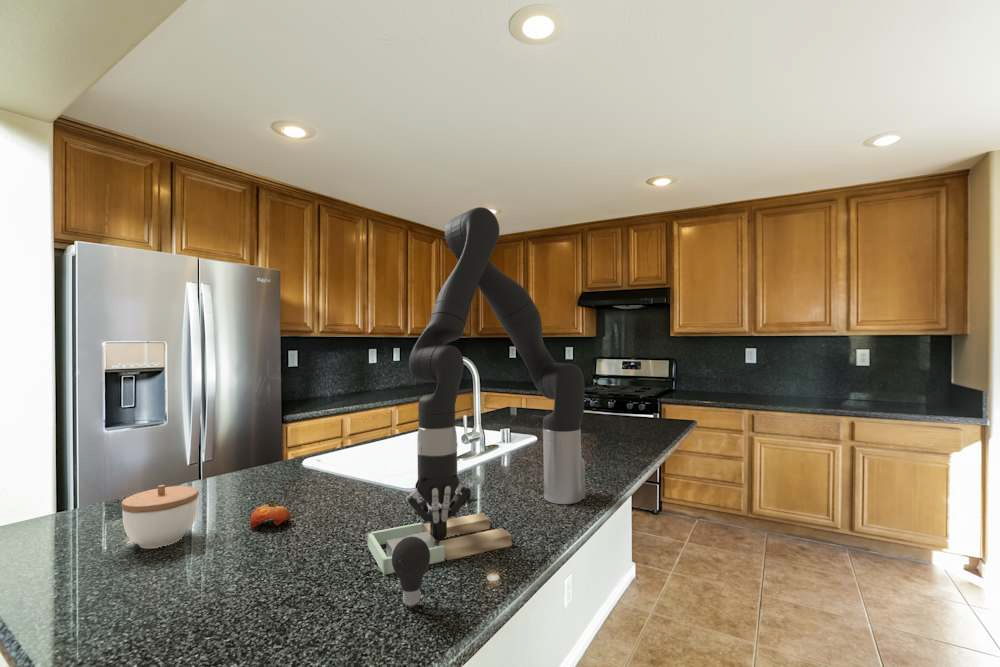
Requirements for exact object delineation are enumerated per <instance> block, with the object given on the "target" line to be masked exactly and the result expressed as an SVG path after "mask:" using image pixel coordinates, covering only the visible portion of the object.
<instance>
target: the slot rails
mask: <svg viewBox="0 0 1000 667" xmlns="http://www.w3.org/2000/svg"><path fill="white" fill-rule="evenodd" d="M490 520H491V519H490V517H488V516H486V515H485V514H484V513H482V512H479V513H474V514H470V515H469V514H468V515H465V516H464V515H463V516H459V517H454V518H448V519H447V535H446V537H445V538H444V540H443V541H440V542H439V546H440V545H443V546H444V557H445V559H446V560H447V561H452V560H455V559H460V558H464V557H468V556H472V555H473V556H474V555H477V554H482V553H485V552H490V551H494V550H499V549H503V548H507V547H512V540H513V539H512V534H511V533H510V532H508V531H507V530H505V529H504V528H502V527H500V528H495V529H490V527H491V524H490ZM422 524H423V532H427V531H428V532H429V533H430V522H426V523H422ZM485 530H486V531H485ZM465 533H466V534H465ZM471 533H472V534H471ZM460 534H462V535H460ZM455 535H457V537H456V536H455ZM451 536H452V537H453V538H452V537H451ZM447 537H448V538H447Z"/></svg>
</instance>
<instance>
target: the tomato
mask: <svg viewBox="0 0 1000 667" xmlns="http://www.w3.org/2000/svg"><path fill="white" fill-rule="evenodd" d="M291 516H292V515H291V512H290V511H289V509H288V508H287V507H285V506H280V505H277V504H276V503H275V499H274V500H270V502H268V504H265V505H261V506H259V507H257V508H255V509H254V511H253V512H252V514H251V515H250V518H249V526H250V529H251V530H252V531H254V532H256V529H255V528H256V527H257V526H259V525H260V524H262V523H266V521H268V520H272V519H273V521H272V522H273V523H274V524H275V525H276V526H279V525H280V524H281V523H282V522H284V521H290V520H291V518H292V517H291ZM272 522H271V521H269V523H270V524H271V523H272Z"/></svg>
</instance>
